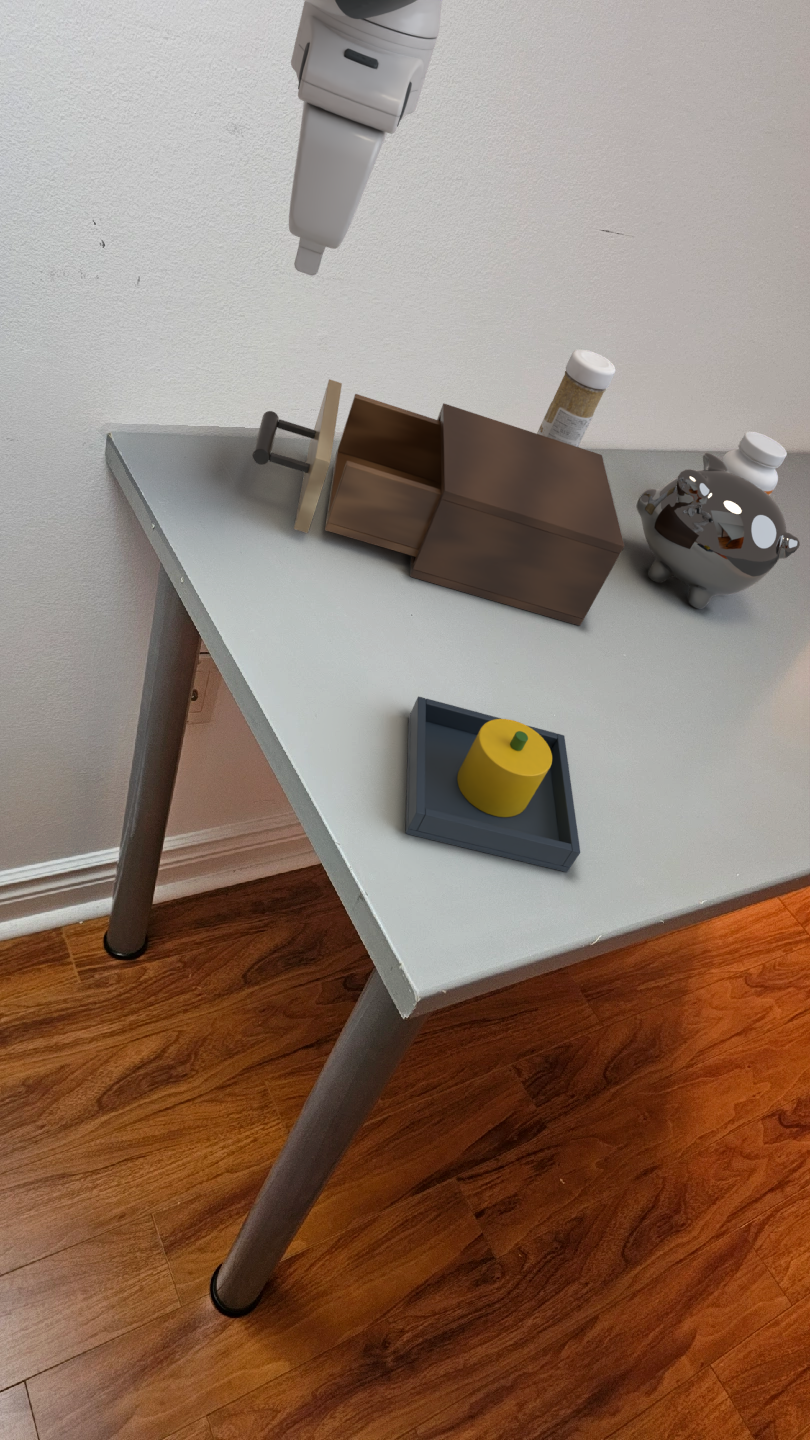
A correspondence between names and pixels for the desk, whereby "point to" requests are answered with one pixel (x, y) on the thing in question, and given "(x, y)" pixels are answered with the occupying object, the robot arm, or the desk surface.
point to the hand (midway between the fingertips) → (307, 263)
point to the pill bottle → (756, 460)
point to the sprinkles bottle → (577, 397)
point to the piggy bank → (713, 531)
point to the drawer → (366, 470)
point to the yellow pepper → (504, 767)
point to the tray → (452, 819)
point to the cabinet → (519, 519)
